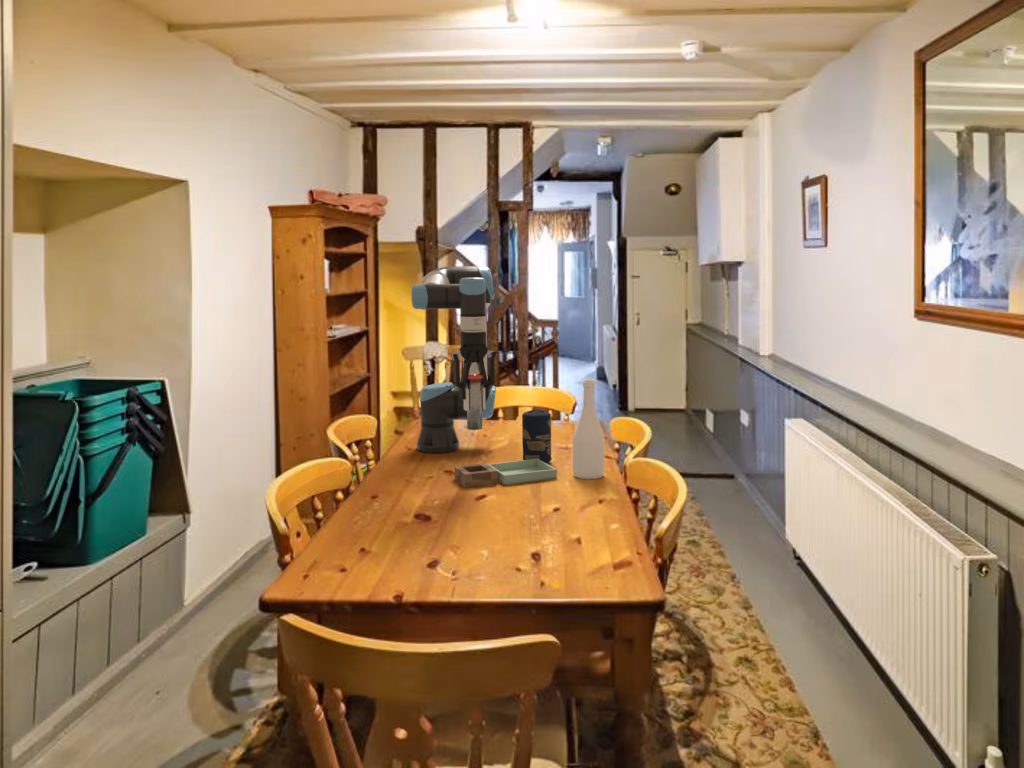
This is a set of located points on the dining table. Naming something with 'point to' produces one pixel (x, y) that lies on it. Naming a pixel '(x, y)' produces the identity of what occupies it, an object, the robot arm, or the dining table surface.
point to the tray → (523, 471)
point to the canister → (536, 435)
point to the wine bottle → (588, 439)
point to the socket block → (475, 475)
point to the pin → (474, 401)
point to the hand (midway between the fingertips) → (474, 409)
